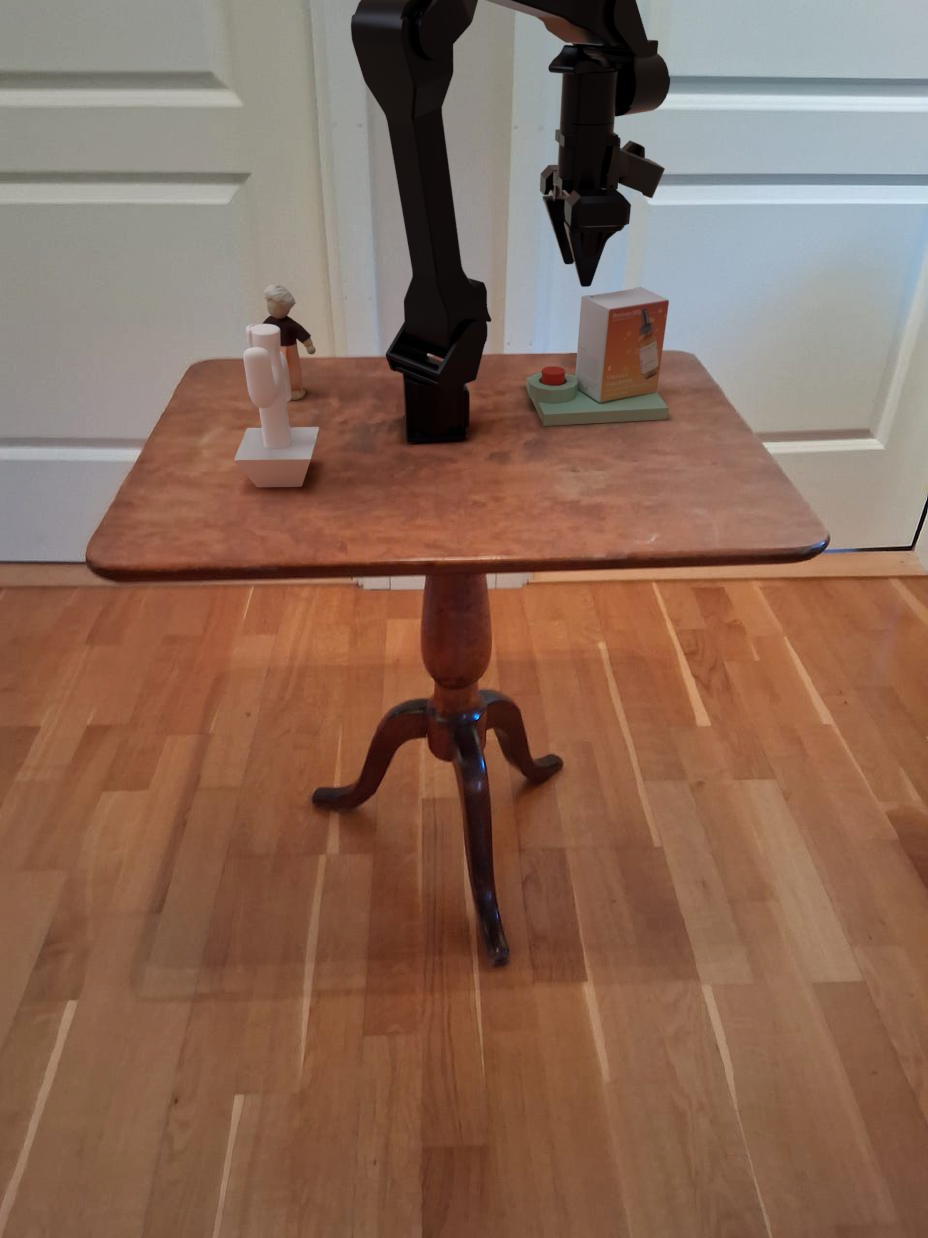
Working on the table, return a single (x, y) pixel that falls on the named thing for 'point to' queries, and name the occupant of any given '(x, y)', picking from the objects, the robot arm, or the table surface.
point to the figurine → (272, 416)
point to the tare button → (553, 376)
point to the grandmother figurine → (288, 334)
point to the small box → (620, 343)
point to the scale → (589, 404)
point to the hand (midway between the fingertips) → (576, 274)
